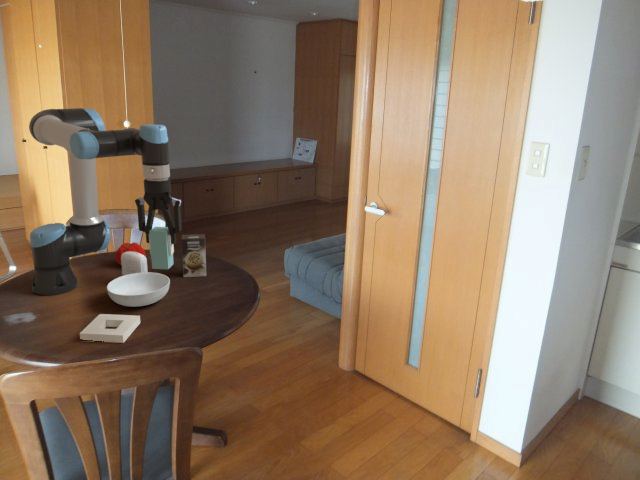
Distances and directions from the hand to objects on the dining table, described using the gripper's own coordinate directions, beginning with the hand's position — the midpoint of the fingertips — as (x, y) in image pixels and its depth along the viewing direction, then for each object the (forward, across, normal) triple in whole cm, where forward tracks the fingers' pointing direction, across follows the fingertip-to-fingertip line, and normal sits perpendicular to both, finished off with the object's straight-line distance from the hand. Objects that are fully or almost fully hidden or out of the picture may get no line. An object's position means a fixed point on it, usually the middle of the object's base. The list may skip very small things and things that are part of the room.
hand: (162, 253), depth 152 cm
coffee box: (+24, -3, +43) cm, 49 cm away
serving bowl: (+24, -15, +16) cm, 33 cm away
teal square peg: (+4, 0, 0) cm, 4 cm away
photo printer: (+24, -23, +32) cm, 46 cm away
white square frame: (+24, -15, -7) cm, 29 cm away
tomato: (+24, -32, +50) cm, 64 cm away
